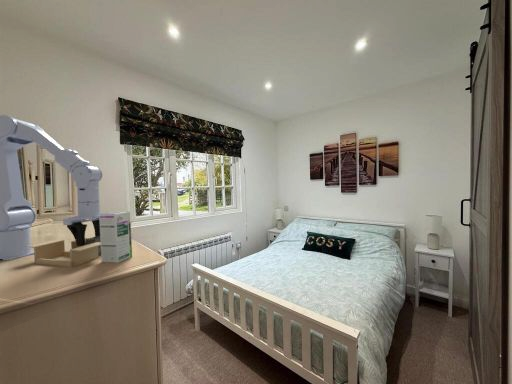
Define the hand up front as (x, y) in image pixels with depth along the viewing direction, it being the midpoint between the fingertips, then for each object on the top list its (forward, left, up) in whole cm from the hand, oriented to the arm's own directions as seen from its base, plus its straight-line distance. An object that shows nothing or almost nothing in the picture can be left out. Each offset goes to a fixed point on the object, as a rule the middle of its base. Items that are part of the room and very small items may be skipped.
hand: (90, 242), depth 72 cm
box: (0, 0, -4) cm, 4 cm away
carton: (0, -7, -4) cm, 8 cm away
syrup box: (+14, -3, -4) cm, 15 cm away
